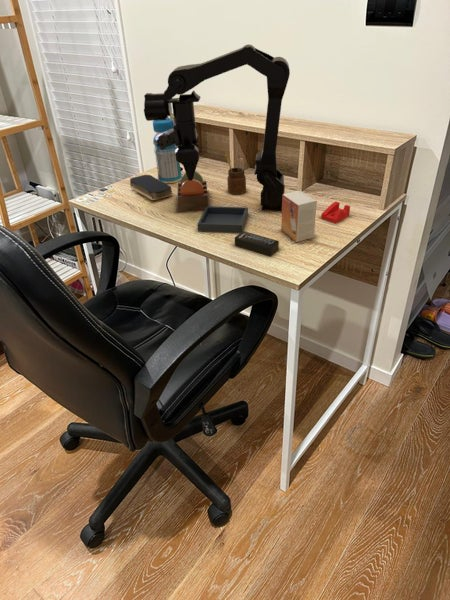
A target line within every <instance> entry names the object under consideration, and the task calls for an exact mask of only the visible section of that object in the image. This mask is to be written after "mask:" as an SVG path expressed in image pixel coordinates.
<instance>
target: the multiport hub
mask: <svg viewBox="0 0 450 600" xmlns="http://www.w3.org/2000/svg"><path fill="white" fill-rule="evenodd" d="M234 246H235V247H239V248H240V249H244V250H248V251H251V252H254V253H258V254H261V255H264V256H267V257H271V256H273V255H274V254H275V253H276V252H277V251H279V248H280V241H279V240H278V239H273V238H270V237H267V236H262V235H259V234H255V233H252V232H248V231H244V230H243V232H241V233H238V234H237V235H235V236H234Z"/></svg>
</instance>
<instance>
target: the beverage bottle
mask: <svg viewBox="0 0 450 600" xmlns="http://www.w3.org/2000/svg"><path fill="white" fill-rule="evenodd" d="M173 126H174V118H171V117H168V120H154V121H152V129H153V132H154V133H155V134H154V136H153V139H152V140H153V141H152V144H153V146H154V147H153V153H154V155H155V162H156V170H157V179H158V180H160V181H162V182H164V183H165V184H174V183H179V182H180V181H181V177H182V175H183V174H182V169H181V163H179V162H177V161H176V155H175V152H176V149H177V148H178V146H175V143H174V144H173V145H171V146H168V147H166V148H165V149H164V150H160V148H159V146H157V142H156V140H155V139H156V136H157V135H159V134H161V133H163V132H165V131H167V130H170V129H172V128H173Z"/></svg>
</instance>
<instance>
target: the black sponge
mask: <svg viewBox="0 0 450 600" xmlns="http://www.w3.org/2000/svg"><path fill="white" fill-rule="evenodd" d="M129 185H130V188H131V189H132V190H134V191H135V192H137V193H139V194H141V195H142V196H144V197H145V198H148V199H149V200H150V201H154V200H155V201H156V200H160V199H164V198H169V197H171V196H173V190H172V186H171V185H169V184H168V183H164V182H162V181H160V180H159V179H158V178H156V177H154V176H152V175H150V174H143V175H139V176H135V177H131V178H130V179H129Z"/></svg>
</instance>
